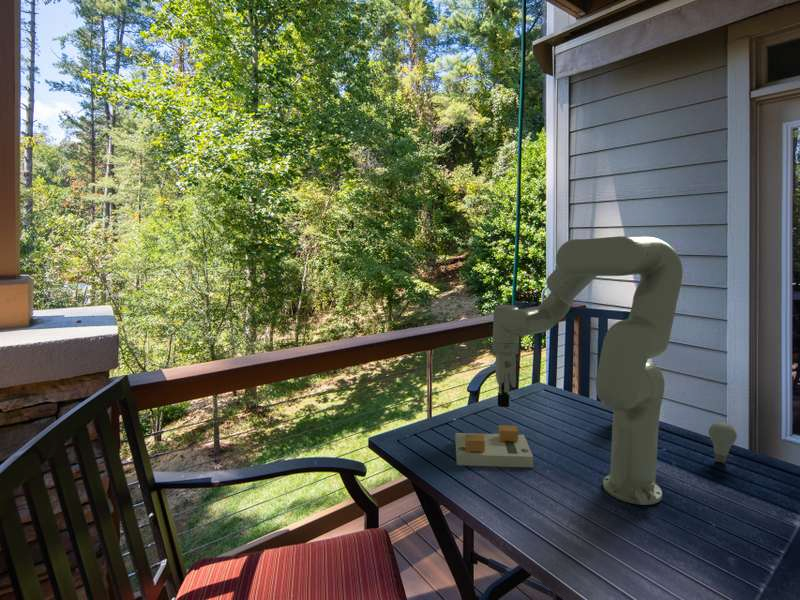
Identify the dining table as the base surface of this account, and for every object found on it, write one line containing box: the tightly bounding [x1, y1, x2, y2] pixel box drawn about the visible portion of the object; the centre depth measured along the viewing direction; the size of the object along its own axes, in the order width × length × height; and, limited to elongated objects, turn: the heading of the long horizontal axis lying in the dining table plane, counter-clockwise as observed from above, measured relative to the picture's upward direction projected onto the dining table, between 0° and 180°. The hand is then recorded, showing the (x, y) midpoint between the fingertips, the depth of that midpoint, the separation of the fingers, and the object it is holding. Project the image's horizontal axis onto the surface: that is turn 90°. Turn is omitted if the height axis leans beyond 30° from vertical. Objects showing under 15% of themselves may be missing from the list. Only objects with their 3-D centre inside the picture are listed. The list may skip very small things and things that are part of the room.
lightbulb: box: [707, 421, 738, 464], centre depth 120 cm, size 6×6×11 cm
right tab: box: [498, 424, 519, 441], centre depth 130 cm, size 4×5×3 cm
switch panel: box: [454, 432, 534, 468], centre depth 127 cm, size 14×20×3 cm
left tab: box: [465, 434, 485, 452], centre depth 124 cm, size 4×5×3 cm
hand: (503, 405), depth 137 cm, fingers closed
